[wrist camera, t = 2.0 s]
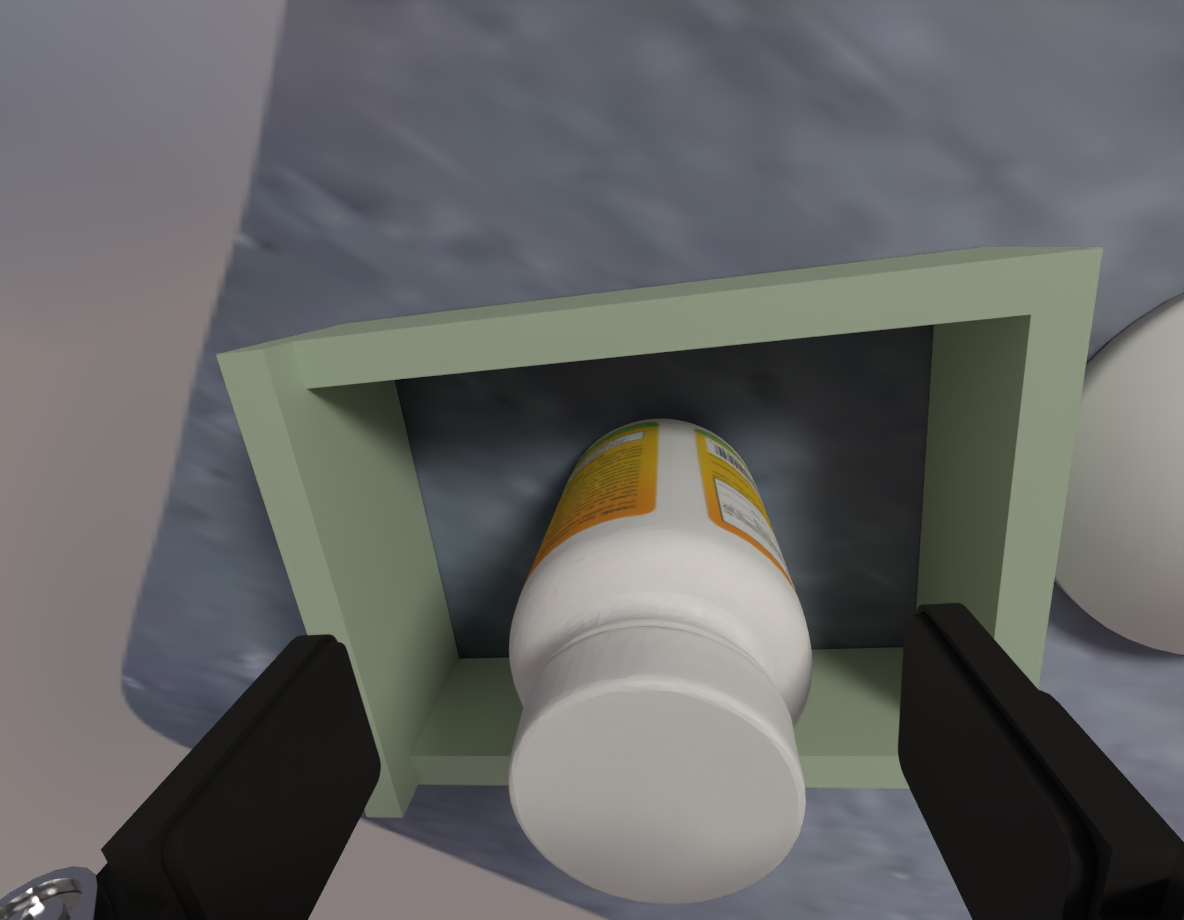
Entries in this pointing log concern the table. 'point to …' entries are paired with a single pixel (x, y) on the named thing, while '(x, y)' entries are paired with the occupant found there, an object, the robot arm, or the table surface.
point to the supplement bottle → (660, 674)
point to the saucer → (1130, 485)
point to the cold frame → (652, 325)
